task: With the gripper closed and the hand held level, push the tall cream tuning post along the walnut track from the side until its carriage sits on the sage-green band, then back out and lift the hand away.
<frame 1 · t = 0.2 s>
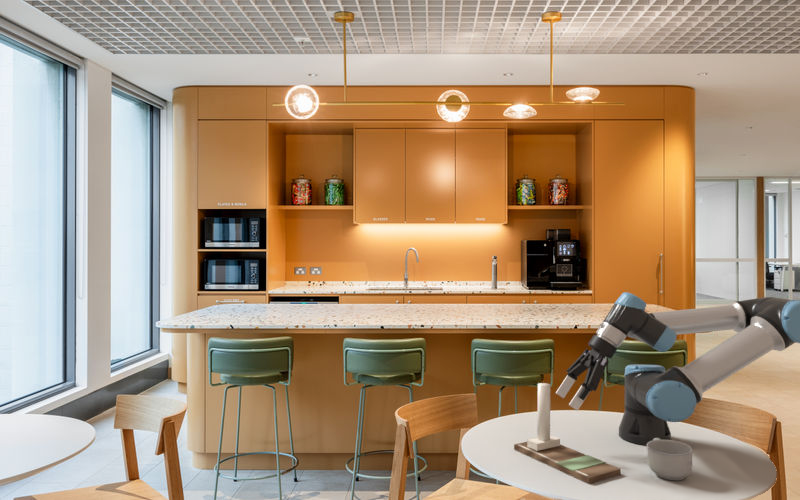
hand: (565, 401, 163), 15 cm above the table, tool tilted 35°, fingers open, 13 cm apart
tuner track: (564, 461, 156), on the table
teacup: (667, 474, 148), on the table
tuning slider: (543, 415, 163), point 11 cm above the table, slide at -8.0 cm
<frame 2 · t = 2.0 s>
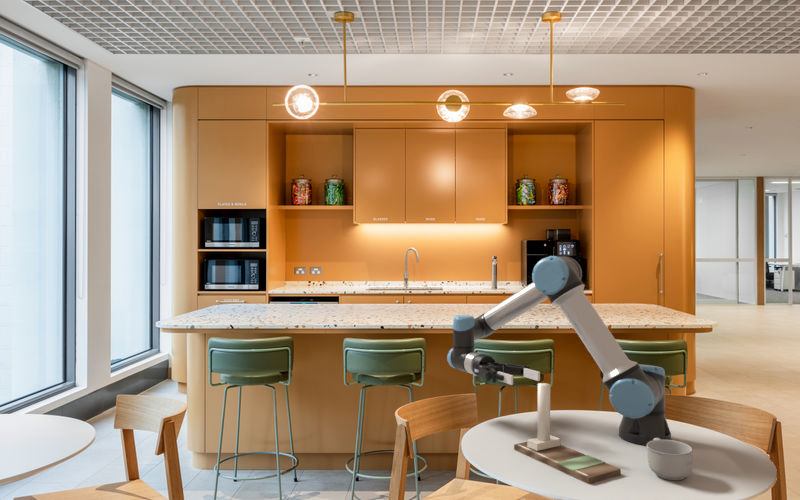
hand: (525, 378, 170), 20 cm above the table, tool horizontal, fingers open, 10 cm apart
nothing on the table moved.
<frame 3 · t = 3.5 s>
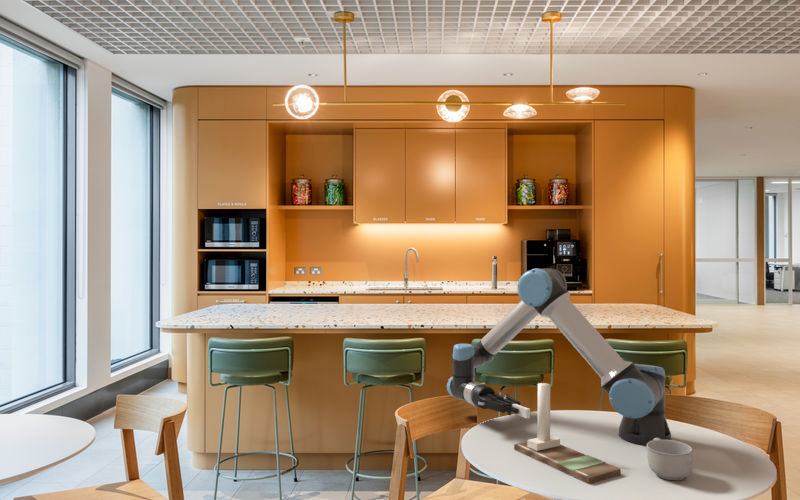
hand: (528, 413, 169), 10 cm above the table, tool horizontal, fingers closed
nothing on the table moved.
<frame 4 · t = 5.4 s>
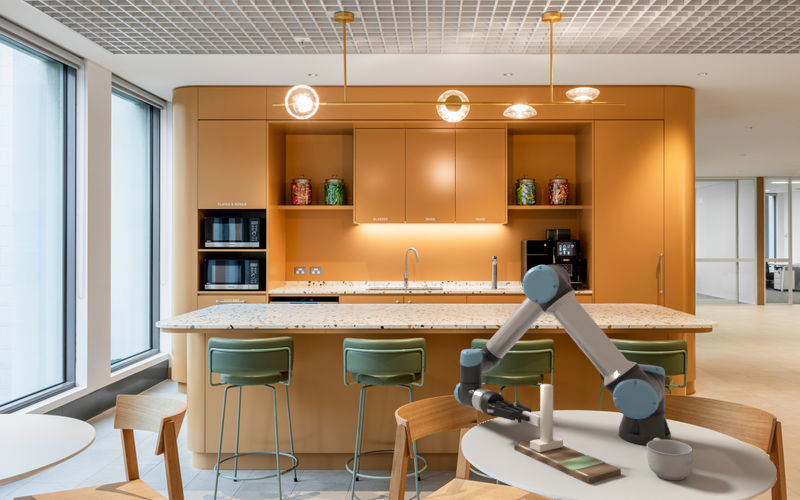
hand: (539, 421, 163), 9 cm above the table, tool horizontal, fingers closed
tuning slider: (546, 416, 162), point 11 cm above the table, slide at -6.8 cm, touching gripper
everything else where it was.
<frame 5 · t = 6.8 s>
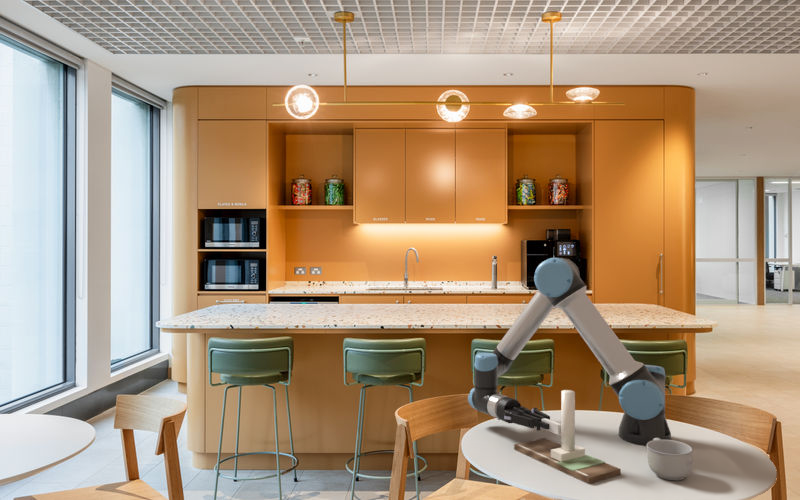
hand: (559, 429, 156), 9 cm above the table, tool horizontal, fingers closed
tuning slider: (567, 424, 155), point 11 cm above the table, slide at 1.3 cm, touching gripper
everything else where it was.
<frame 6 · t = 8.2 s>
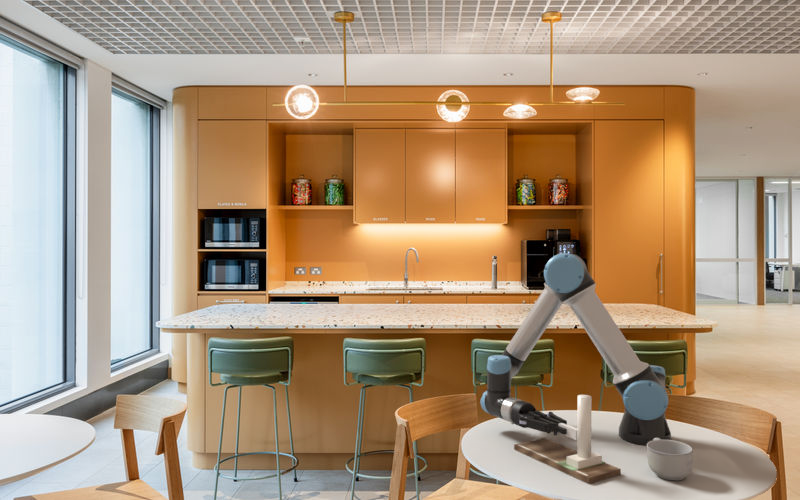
hand: (577, 434, 151), 9 cm above the table, tool horizontal, fingers closed
tuning slider: (584, 429, 150), point 11 cm above the table, slide at 7.2 cm, touching gripper
everything else where it was.
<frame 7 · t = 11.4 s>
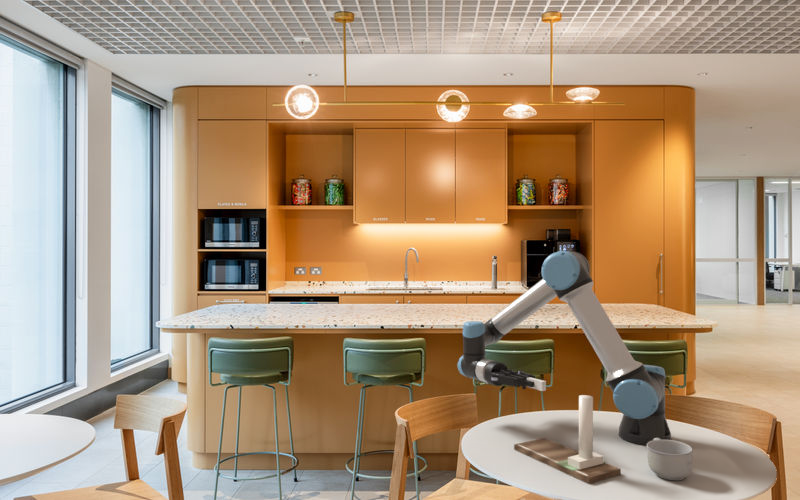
hand: (544, 386, 163), 19 cm above the table, tool horizontal, fingers closed
tuning slider: (585, 430, 149), point 11 cm above the table, slide at 7.6 cm
everything else where it was.
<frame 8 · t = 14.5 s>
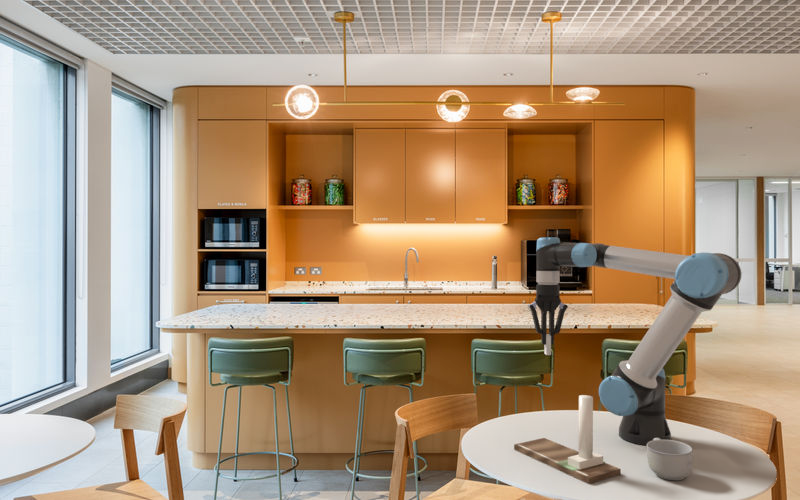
hand: (547, 354, 186), 24 cm above the table, tool pointing down, fingers closed
nothing on the table moved.
at the end: tuning slider slide at 7.6 cm; teacup moved 0.3 cm from its start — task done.
